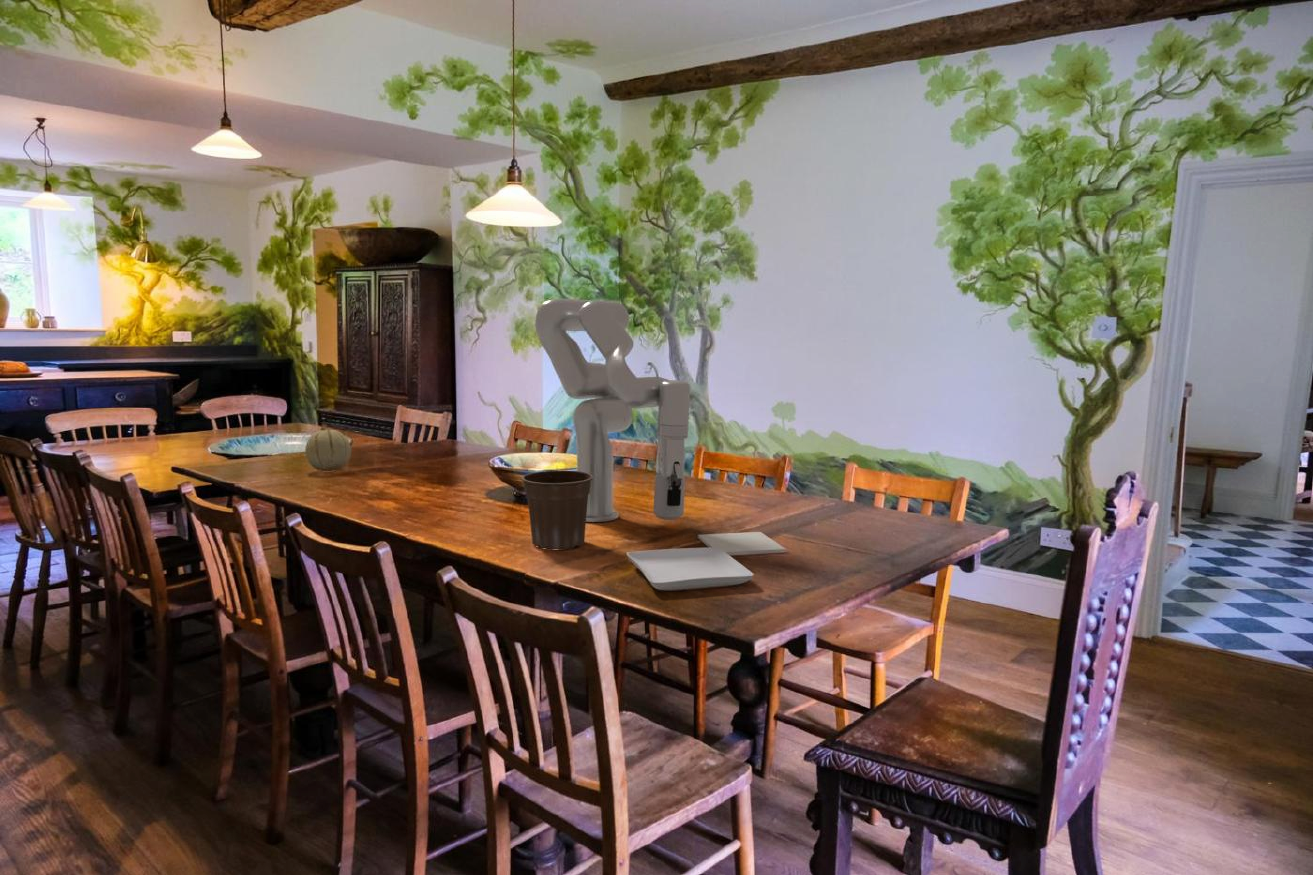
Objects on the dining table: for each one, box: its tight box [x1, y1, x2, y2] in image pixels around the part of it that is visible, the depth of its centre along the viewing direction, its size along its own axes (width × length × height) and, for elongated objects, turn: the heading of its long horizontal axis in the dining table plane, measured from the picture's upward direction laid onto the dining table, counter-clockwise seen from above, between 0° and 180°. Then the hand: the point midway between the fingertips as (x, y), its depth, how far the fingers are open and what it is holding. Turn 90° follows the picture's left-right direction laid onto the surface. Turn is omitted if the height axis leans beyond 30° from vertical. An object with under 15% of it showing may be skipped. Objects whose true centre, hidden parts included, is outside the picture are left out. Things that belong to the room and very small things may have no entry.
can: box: [653, 469, 686, 521], centre depth 200 cm, size 8×8×12 cm
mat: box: [697, 531, 787, 556], centre depth 191 cm, size 16×16×1 cm
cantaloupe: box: [304, 427, 352, 472], centre depth 277 cm, size 15×15×15 cm
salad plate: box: [626, 547, 754, 591], centre depth 166 cm, size 21×21×3 cm
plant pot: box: [521, 469, 593, 550], centre depth 188 cm, size 16×16×16 cm
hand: (669, 501), depth 201 cm, fingers closed on can, 7 cm apart
